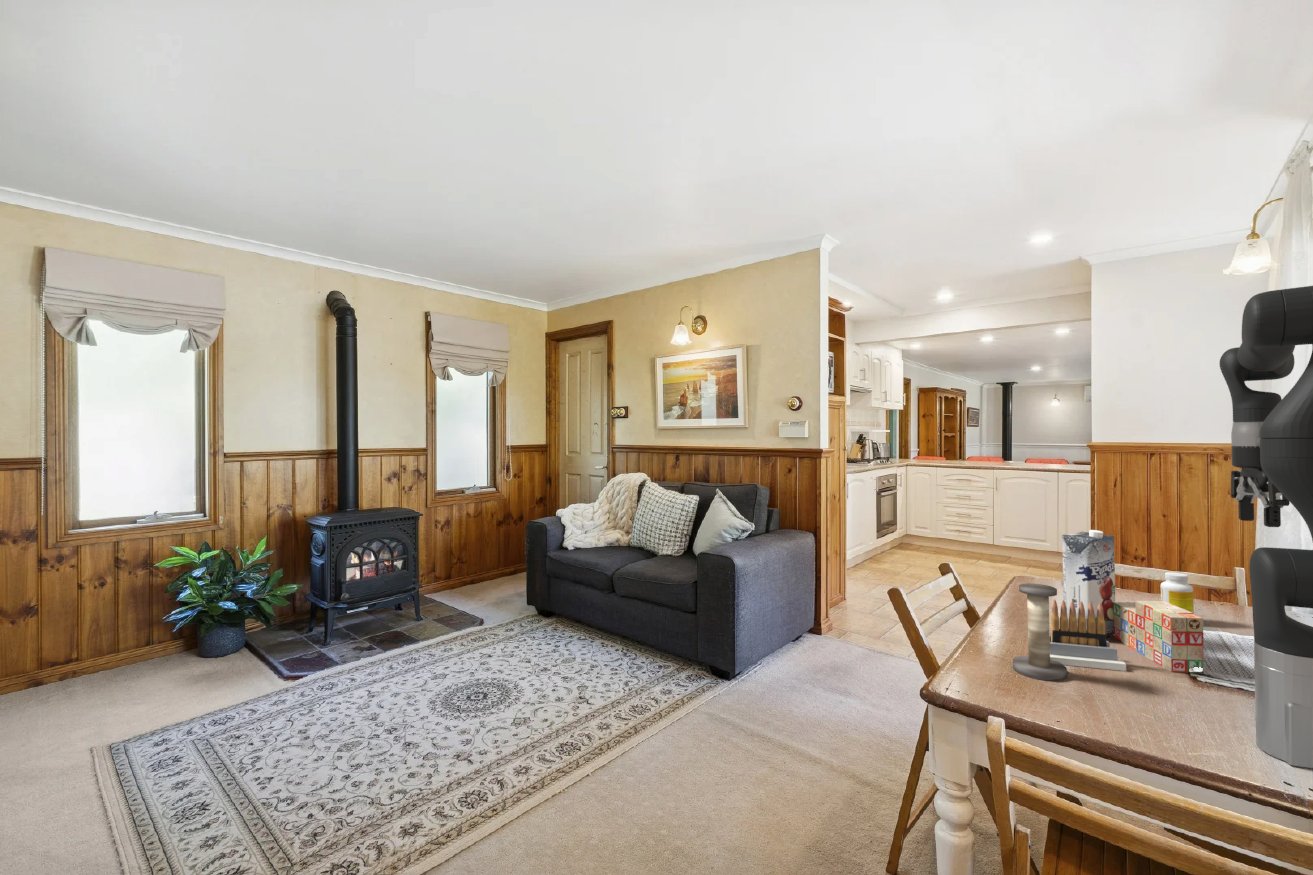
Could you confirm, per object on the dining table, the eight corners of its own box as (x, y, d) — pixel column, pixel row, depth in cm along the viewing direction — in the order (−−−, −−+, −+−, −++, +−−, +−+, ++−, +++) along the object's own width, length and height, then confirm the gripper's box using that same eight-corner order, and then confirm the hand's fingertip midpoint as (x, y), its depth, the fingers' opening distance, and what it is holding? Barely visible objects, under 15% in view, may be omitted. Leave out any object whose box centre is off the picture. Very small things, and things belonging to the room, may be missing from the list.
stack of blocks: (1112, 638, 147) (1112, 589, 147) (1140, 639, 146) (1140, 590, 146) (1171, 672, 126) (1170, 616, 126) (1205, 674, 125) (1204, 617, 125)
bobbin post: (1073, 683, 121) (1071, 595, 121) (1018, 677, 125) (1016, 591, 125) (1059, 665, 131) (1057, 583, 131) (1008, 660, 134) (1006, 580, 134)
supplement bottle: (1201, 624, 154) (1200, 576, 154) (1176, 625, 154) (1175, 577, 154) (1178, 616, 161) (1177, 570, 161) (1154, 617, 161) (1153, 571, 161)
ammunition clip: (1052, 652, 135) (1050, 600, 134) (1049, 649, 136) (1048, 598, 136) (1107, 657, 131) (1106, 604, 131) (1104, 654, 133) (1103, 601, 132)
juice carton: (1058, 632, 152) (1056, 528, 151) (1083, 625, 156) (1081, 525, 156) (1096, 642, 143) (1094, 533, 143) (1120, 635, 148) (1118, 530, 148)
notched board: (1126, 671, 127) (1125, 652, 127) (1045, 663, 132) (1045, 645, 132) (1110, 655, 135) (1110, 638, 135) (1035, 648, 141) (1035, 632, 141)
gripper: (1306, 444, 110) (1307, 530, 110) (1259, 442, 123) (1261, 519, 124) (1254, 445, 113) (1256, 528, 113) (1214, 443, 126) (1216, 518, 126)
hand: (1258, 523), depth 118 cm, fingers open, 8 cm apart
